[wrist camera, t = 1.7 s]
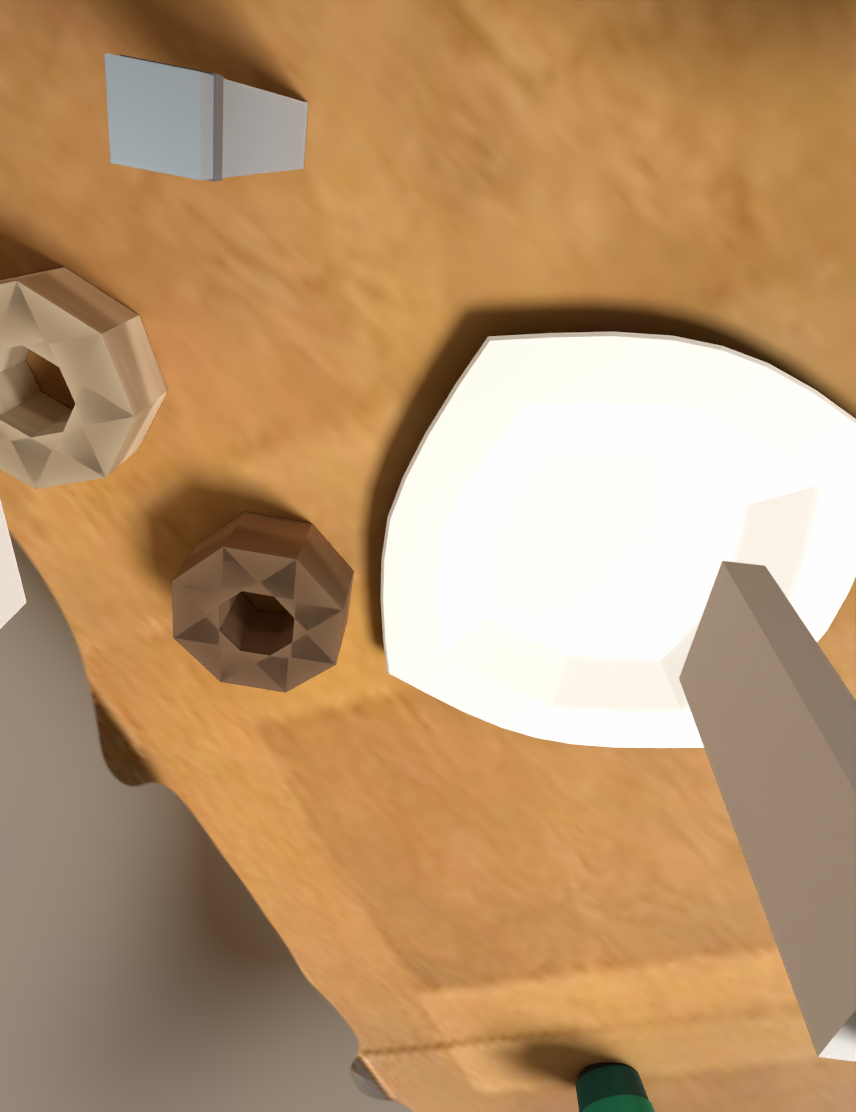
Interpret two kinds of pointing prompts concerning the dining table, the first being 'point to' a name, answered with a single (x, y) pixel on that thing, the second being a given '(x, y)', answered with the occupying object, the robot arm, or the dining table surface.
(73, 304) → the maple bead
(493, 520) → the plate
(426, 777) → the dining table surface
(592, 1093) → the cup
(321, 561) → the walnut bead
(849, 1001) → the robot arm
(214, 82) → the long pale blue brick
